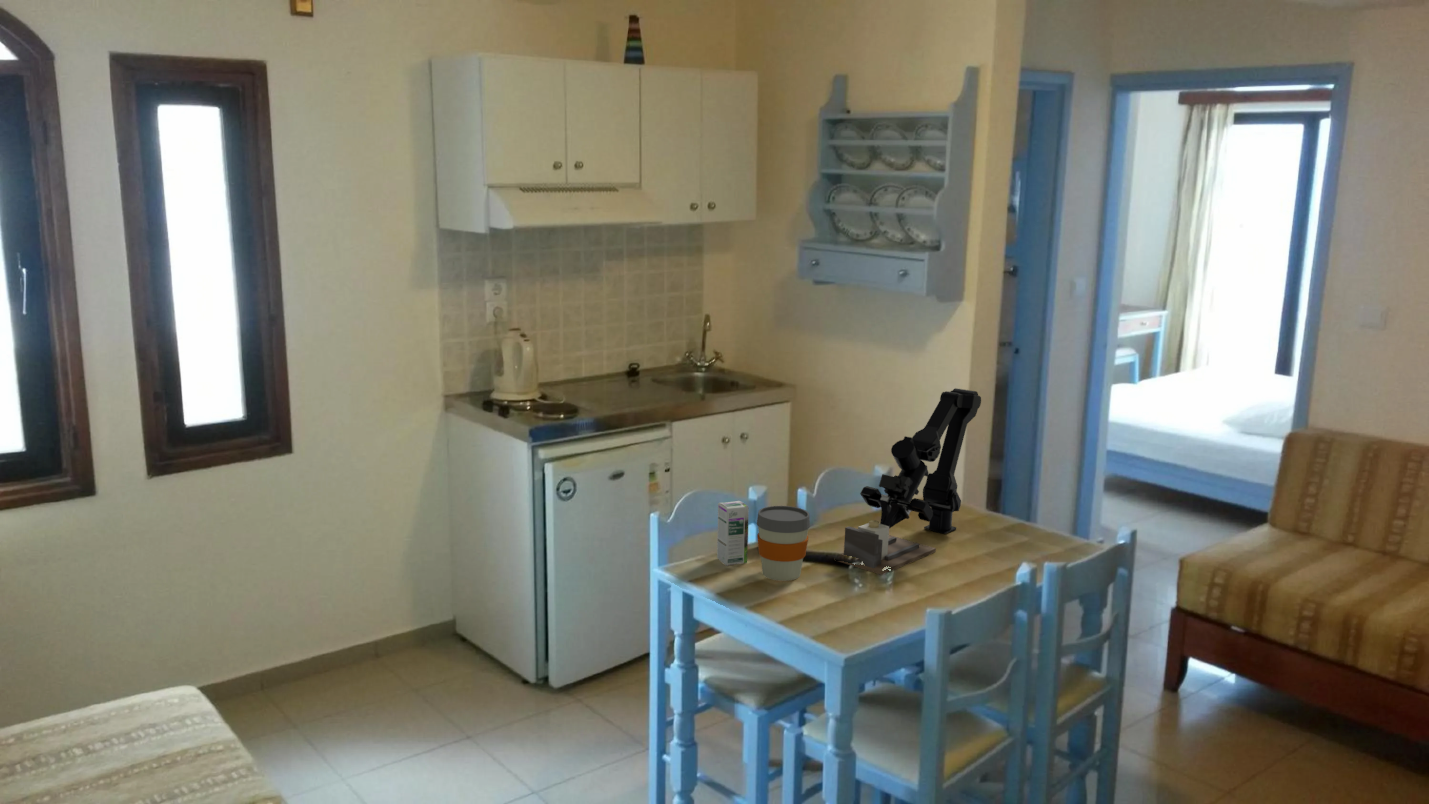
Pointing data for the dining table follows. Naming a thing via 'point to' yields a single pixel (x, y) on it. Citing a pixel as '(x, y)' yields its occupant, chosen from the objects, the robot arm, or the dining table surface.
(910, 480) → the robot arm
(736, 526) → the syrup box
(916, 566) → the dining table surface
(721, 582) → the dining table surface
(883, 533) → the white block with knob
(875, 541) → the brown board with frame
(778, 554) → the reusable coffee cup
